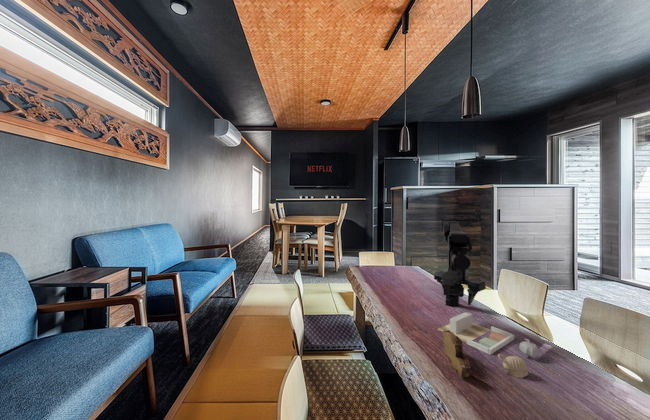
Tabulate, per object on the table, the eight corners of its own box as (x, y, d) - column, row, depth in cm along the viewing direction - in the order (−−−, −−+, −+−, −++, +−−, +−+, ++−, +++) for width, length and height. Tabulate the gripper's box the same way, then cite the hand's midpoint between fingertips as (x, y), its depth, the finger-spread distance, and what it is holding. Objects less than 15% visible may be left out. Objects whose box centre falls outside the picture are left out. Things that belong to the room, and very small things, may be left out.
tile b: (485, 343, 93) (485, 336, 93) (498, 349, 89) (498, 342, 89) (478, 347, 91) (478, 340, 90) (492, 353, 87) (492, 346, 87)
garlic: (516, 349, 90) (517, 334, 90) (536, 352, 88) (536, 338, 87) (521, 358, 84) (521, 343, 84) (542, 362, 82) (542, 347, 82)
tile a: (495, 337, 97) (495, 331, 97) (508, 343, 93) (508, 336, 93) (489, 341, 94) (489, 334, 94) (502, 347, 91) (502, 340, 90)
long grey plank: (466, 323, 106) (466, 311, 106) (472, 325, 104) (472, 313, 104) (449, 331, 100) (449, 318, 100) (455, 334, 98) (455, 321, 97)
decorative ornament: (532, 379, 74) (532, 362, 74) (499, 374, 77) (499, 357, 77) (525, 371, 78) (526, 354, 78) (494, 366, 81) (494, 349, 81)
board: (461, 321, 110) (461, 318, 110) (490, 333, 100) (490, 330, 100) (437, 332, 102) (437, 329, 101) (467, 347, 91) (467, 343, 91)
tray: (491, 333, 100) (491, 326, 100) (514, 342, 94) (514, 334, 94) (466, 347, 91) (466, 339, 91) (490, 359, 84) (490, 350, 84)
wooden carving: (477, 384, 73) (478, 350, 73) (461, 384, 73) (462, 350, 73) (450, 350, 89) (450, 323, 89) (437, 350, 89) (437, 323, 89)
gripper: (426, 262, 107) (426, 298, 108) (471, 272, 91) (470, 314, 92) (441, 258, 113) (441, 292, 114) (486, 267, 97) (486, 307, 98)
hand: (458, 301), depth 104 cm, fingers open, 9 cm apart
